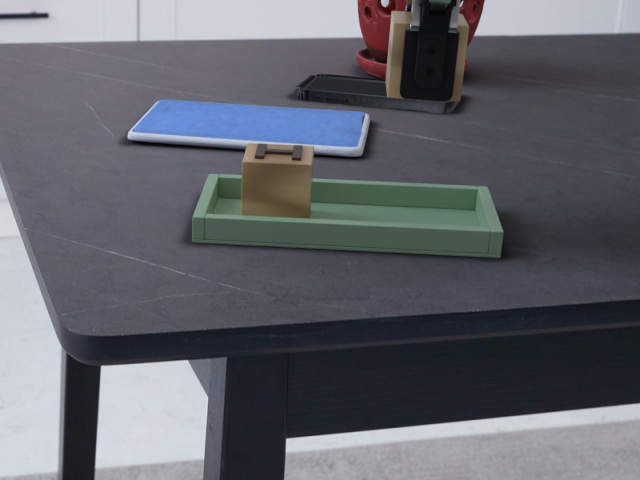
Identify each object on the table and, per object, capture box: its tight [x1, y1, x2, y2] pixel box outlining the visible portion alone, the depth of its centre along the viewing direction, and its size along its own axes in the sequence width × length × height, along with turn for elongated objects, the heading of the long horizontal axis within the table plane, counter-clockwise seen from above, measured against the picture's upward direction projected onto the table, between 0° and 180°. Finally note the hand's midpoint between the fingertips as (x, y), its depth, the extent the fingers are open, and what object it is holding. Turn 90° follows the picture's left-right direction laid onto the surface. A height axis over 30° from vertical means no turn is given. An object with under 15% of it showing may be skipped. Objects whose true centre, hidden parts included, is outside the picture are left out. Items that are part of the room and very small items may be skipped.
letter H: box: [241, 143, 315, 219], centre depth 77 cm, size 4×4×5 cm
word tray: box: [191, 173, 505, 259], centre depth 77 cm, size 20×10×2 cm, turn 85°
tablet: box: [127, 98, 371, 158], centre depth 98 cm, size 19×13×1 cm, turn 81°
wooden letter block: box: [385, 11, 469, 102], centre depth 72 cm, size 4×4×5 cm
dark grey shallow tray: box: [295, 73, 463, 114], centre depth 111 cm, size 8×1×15 cm
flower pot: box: [355, 0, 486, 79], centre depth 119 cm, size 13×13×12 cm
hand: (423, 86), depth 73 cm, fingers closed on wooden letter block, 4 cm apart
